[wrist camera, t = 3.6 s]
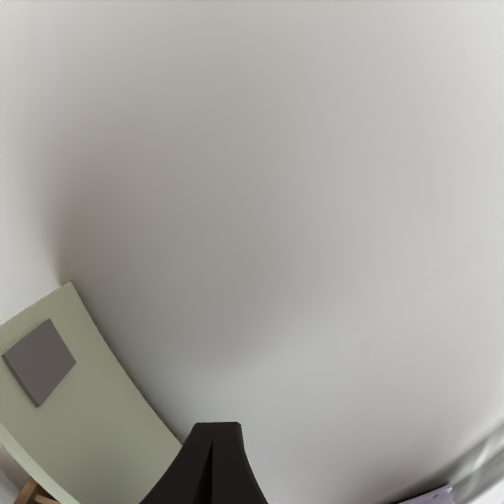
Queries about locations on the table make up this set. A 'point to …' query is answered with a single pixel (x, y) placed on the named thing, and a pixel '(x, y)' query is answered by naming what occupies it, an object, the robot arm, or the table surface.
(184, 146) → the table surface
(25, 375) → the door
